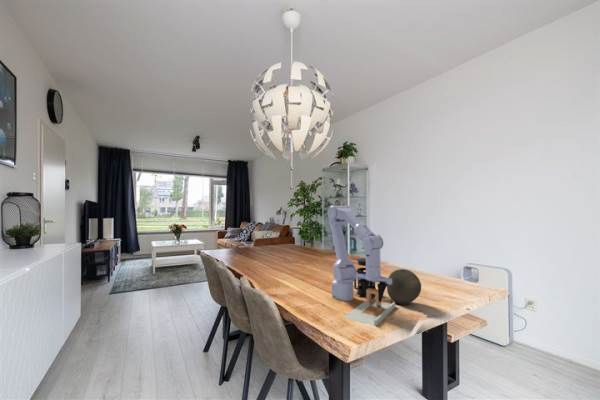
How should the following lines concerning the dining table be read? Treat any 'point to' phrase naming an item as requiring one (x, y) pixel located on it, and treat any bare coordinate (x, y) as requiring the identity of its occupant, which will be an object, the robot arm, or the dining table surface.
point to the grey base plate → (367, 318)
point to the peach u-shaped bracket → (369, 298)
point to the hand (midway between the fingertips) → (373, 299)
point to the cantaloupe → (404, 286)
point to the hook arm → (374, 303)
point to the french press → (359, 289)
